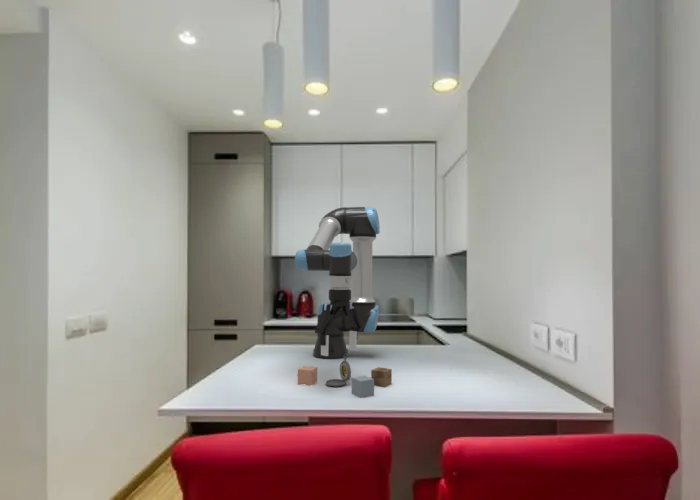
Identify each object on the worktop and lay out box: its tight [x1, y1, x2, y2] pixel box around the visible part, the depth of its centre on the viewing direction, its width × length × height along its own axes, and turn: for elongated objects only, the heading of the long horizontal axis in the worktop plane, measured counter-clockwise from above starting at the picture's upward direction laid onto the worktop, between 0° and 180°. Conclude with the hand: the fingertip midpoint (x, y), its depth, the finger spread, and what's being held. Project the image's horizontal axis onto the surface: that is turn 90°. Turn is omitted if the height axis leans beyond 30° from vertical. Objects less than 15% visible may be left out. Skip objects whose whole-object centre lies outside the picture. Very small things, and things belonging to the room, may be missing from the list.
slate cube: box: [351, 375, 375, 399], centre depth 139 cm, size 5×5×5 cm
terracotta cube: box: [297, 365, 318, 386], centre depth 152 cm, size 5×5×5 cm
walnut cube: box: [370, 366, 393, 388], centre depth 150 cm, size 5×5×5 cm
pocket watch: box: [325, 353, 352, 388], centre depth 150 cm, size 8×8×10 cm
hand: (339, 352), depth 150 cm, fingers open, 13 cm apart
